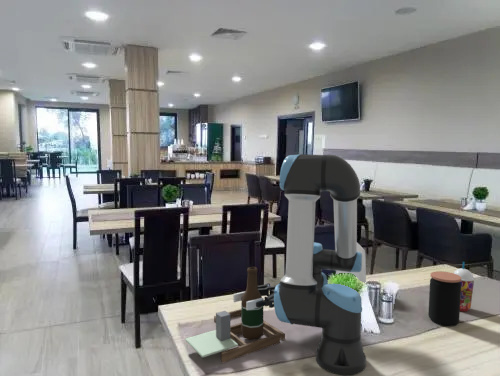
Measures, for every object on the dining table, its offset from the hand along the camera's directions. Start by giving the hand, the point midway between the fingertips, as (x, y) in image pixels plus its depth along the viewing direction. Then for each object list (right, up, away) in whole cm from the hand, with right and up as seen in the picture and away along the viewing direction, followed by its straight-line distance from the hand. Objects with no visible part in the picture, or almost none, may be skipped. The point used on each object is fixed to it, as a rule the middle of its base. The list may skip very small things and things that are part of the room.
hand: (240, 302), depth 129 cm
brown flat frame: (-2, -14, +7) cm, 16 cm away
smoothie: (+91, -12, +30) cm, 97 cm away
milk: (+51, -10, +51) cm, 73 cm away
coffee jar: (+78, -13, +19) cm, 82 cm away
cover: (-9, -12, -5) cm, 16 cm away
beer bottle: (+4, -13, +4) cm, 14 cm away
